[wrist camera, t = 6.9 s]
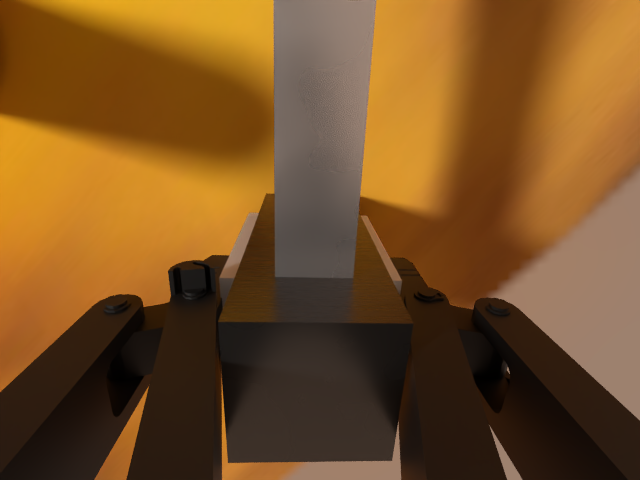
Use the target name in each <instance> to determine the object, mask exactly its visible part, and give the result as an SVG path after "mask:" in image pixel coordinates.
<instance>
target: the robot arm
mask: <svg viewBox="0 0 640 480" xmlns="http://www.w3.org/2000/svg"><path fill="white" fill-rule="evenodd" d="M258 214H259V213H249V214H248V216H247V218H246V221H245V223H244V225H243V227H242V229H241V231H240V234H239V236H238V238H237V240H236V242H235V245H234V247H233V249H232V251H231V253H230V255H229V256H227V255H212V256H210V257H209V258H207V259H205V260H204V261H200V260H192V261H185V262H182V263H178V264H176V265H174V266H172V267H171V268H170V269H169V271H168V274H169V282H170V291H171V298H170V302H168V303H165V304H160V305H154V306H148V307H143V302H142V300H141V298H140V297H138V296H136V295H129V294H125V295H122V294H119V295H115V296H110V297H108V298H106V299H103V300H101V301H99V302H98V303H96V304H95V305H93V306H92V307H91V308H90V309H89V310H88V311H87V312H86V313H85V314H84V315H83V316H82V317H81V318H79V319H78V320H77V321H76V322H75V323H74V324H73V325H72V326H71V327H70V328H69V329H68V330H67V331H66V332H64V333H63V334H62V335H61V336H60V337H59V338H58V339H57V340H56V341H55V342H54V343H53V344H52V345H50V346H49V347H48V348H47V349H46V350H45V351H44V352H43V353H42V354H41V355H40V356H39V357H38V358H37V359H35V360H34V361H33V362H32V363H31V364H30V365H29V366H28V367H27V368H26V369H25V370H24V371H23V372H22V373H20V374H19V375H18V376H17V377H16V378H15V379H14V380H13V381H12V382H11V383H10V384H9V385H8V386H7V387H5V388H4V389H3V390H2V391H1V392H0V480H94V479H95V477H96V475H97V474H98V472H99V470H100V468H101V467H102V465H103V463H104V462H105V460H106V458H107V456H108V455H109V453H110V451H111V449H112V448H113V446H114V444H115V443H116V441H117V439H118V437H119V436H120V434H121V432H122V431H123V429H124V427H125V425H126V424H127V422H128V420H129V419H130V417H131V415H132V413H133V412H134V410H135V408H136V407H137V405H138V403H139V401H140V400H141V398H142V396H143V395H144V393H145V391H146V389H147V388H148V386H149V389H148V393H147V397H146V401H145V405H144V410H143V414H142V418H141V422H140V426H139V430H138V434H137V438H136V443H135V447H134V451H133V455H132V459H131V463H130V467H129V471H128V476H127V480H222V395H221V356H220V342H219V328H218V321H219V318H220V315H221V313H222V310H223V307H224V305H225V302H226V299H227V297H228V294H229V291H230V289H231V286H232V283H233V281H234V278H235V275H236V273H237V270H238V267H239V265H240V262H241V259H242V257H243V254H244V251H245V249H246V246H247V243H248V241H249V238H250V236H251V233H252V230H253V228H254V225H255V222H256V220H257V217H258ZM361 218H362V220H363V222H364V224H365V226H366V228H367V230H368V232H369V234H370V236H371V238H372V240H373V242H374V244H375V246H376V248H377V250H378V252H379V254H380V256H381V258H382V260H383V262H384V264H385V266H386V268H387V270H388V272H389V275H390V277H391V279H392V281H393V283H394V285H395V287H396V289H397V291H398V293H399V295H400V297H401V299H402V301H403V303H404V305H405V307H406V309H407V311H408V313H409V315H410V317H411V319H412V321H413V323H414V324H413V330H412V337H411V343H410V349H409V356H408V362H407V368H406V375H405V381H404V387H403V394H402V400H401V406H400V413H399V419H398V420H399V439H400V460H401V480H507V478H506V475H505V472H504V469H503V466H502V463H501V460H500V457H499V454H498V451H497V448H496V445H495V442H494V438H493V435H492V432H491V430H490V427H491V428H492V430H493V431H494V433H495V435H496V437H497V438H498V440H499V441H500V443H501V445H502V446H503V448H504V450H505V451H506V453H507V455H508V456H509V458H510V459H511V461H512V463H513V464H514V466H515V468H516V469H517V471H518V472H519V474H520V476H521V478H522V479H523V480H640V421H639V420H638V419H637V418H636V417H635V416H634V415H633V414H632V413H631V412H630V411H629V410H627V409H626V408H625V407H624V406H623V405H622V404H621V403H620V402H619V401H618V400H617V399H616V398H615V397H614V396H612V395H611V394H610V393H609V392H608V391H607V390H606V389H605V388H604V387H603V386H602V385H600V384H599V383H598V382H597V381H596V380H595V379H594V378H593V377H592V376H591V375H590V374H589V373H588V372H586V371H585V370H584V369H583V368H582V367H581V366H580V365H579V364H578V363H577V362H576V361H575V360H573V359H572V358H571V357H570V356H569V355H568V354H567V353H566V352H565V351H564V350H563V349H562V348H560V347H559V346H558V345H557V344H556V343H555V342H554V341H553V340H552V339H551V338H550V337H549V336H548V335H546V334H545V333H544V332H543V331H542V330H541V329H540V328H539V327H538V326H536V325H535V324H534V323H533V322H532V321H531V320H530V319H529V318H528V317H527V316H526V315H525V314H524V313H523V312H521V311H520V310H519V309H518V308H517V307H515V306H514V305H512V304H510V303H508V302H506V301H505V300H502V299H500V300H499V299H498V298H481V299H478V300H477V301H476V302H475V305H474V310H471V309H466V308H460V307H456V306H452V305H450V304H449V301H448V299H447V297H446V296H445V295H444V294H443V293H441V292H440V291H438V290H435V289H433V288H428V286H427V285H426V283H425V282H424V280H423V279H422V277H421V276H420V274H419V272H418V271H417V269H416V268H415V266H414V265H413V263H411V262H410V261H408V260H406V259H405V258H390V257H389V256H388V254H387V252H386V250H385V248H384V246H383V244H382V243H381V241H380V239H379V237H378V235H377V233H376V231H375V230H374V228H373V226H372V224H371V222H370V220H369V219H368V217H367V216H361ZM507 367H508V368H509V371H510V374H509V373H508V371H507ZM149 384H150V385H149ZM489 425H490V426H489Z"/></svg>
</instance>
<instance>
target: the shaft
mask: <svg viewBox="0 0 640 480" xmlns="http://www.w3.org/2000/svg"><path fill="white" fill-rule="evenodd" d="M375 8H376V0H274V175H275V194H266V196H265V198H264V201H263V204H262V206H261V209H260V212H259V214H258V217H257V220H256V222H255V225H254V228H253V230H252V233H251V236H250V238H249V241H248V243H247V246H246V249H245V251H244V254H243V257H242V259H241V262H240V265H239V267H238V270H237V273H236V275H235V278H234V281H233V283H232V286H231V289H230V291H229V294H228V297H227V299H226V302H225V305H224V307H223V310H222V313H221V315H220V318H219V321H218V328H219V342H220V356H221V370H222V384H223V398H224V412H225V426H226V440H227V454H228V463H247V462H321V461H323V462H324V461H392V457H393V451H394V444H395V437H396V432H397V425H398V419H399V413H400V406H401V400H402V394H403V387H404V381H405V375H406V368H407V362H408V356H409V349H410V343H411V337H412V330H413V324H414V323H413V321H412V319H411V317H410V315H409V313H408V311H407V309H406V307H405V305H404V303H403V301H402V299H401V297H400V295H399V293H398V291H397V289H396V287H395V285H394V283H393V281H392V279H391V277H390V275H389V272H388V270H387V268H386V266H385V264H384V262H383V260H382V258H381V256H380V254H379V252H378V250H377V248H376V246H375V244H374V242H373V240H372V238H371V236H370V234H369V232H368V230H367V228H366V226H365V224H364V222H363V220H362V218H361V216H360V213H359V202H360V190H361V178H362V166H363V154H364V141H365V129H366V117H367V105H368V93H369V81H370V69H371V57H372V45H373V33H374V21H375Z"/></svg>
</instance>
